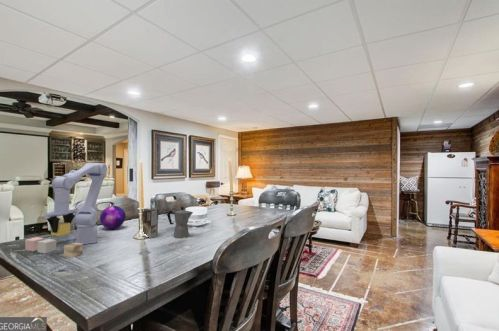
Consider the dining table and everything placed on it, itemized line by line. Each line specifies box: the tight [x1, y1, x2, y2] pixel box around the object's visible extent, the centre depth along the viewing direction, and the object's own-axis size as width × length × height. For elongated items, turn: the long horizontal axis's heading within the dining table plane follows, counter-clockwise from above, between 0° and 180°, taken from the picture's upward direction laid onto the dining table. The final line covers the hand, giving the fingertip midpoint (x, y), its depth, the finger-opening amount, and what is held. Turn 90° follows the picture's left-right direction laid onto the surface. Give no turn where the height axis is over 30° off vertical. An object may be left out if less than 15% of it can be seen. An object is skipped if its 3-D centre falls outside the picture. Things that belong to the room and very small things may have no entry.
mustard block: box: [50, 221, 71, 237], centre depth 118 cm, size 5×5×5 cm
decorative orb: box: [99, 205, 127, 230], centre depth 166 cm, size 15×15×15 cm
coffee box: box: [138, 208, 159, 239], centre depth 151 cm, size 9×6×16 cm
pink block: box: [24, 236, 45, 252], centre depth 122 cm, size 5×5×5 cm
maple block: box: [63, 242, 84, 259], centre depth 116 cm, size 5×5×5 cm
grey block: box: [36, 238, 57, 254], centre depth 120 cm, size 5×5×5 cm
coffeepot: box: [166, 206, 194, 239], centre depth 153 cm, size 15×9×18 cm, turn 103°
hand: (60, 231), depth 118 cm, fingers closed on mustard block, 5 cm apart
